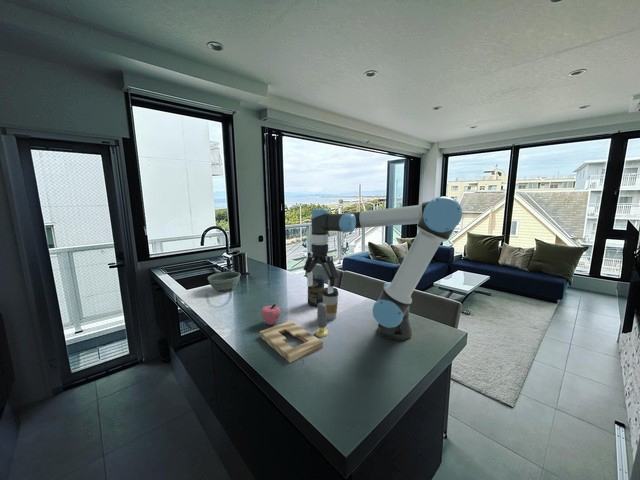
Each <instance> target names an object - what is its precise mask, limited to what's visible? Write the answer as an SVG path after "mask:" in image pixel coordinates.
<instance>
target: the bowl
mask: <svg viewBox="0 0 640 480" xmlns="http://www.w3.org/2000/svg"><path fill="white" fill-rule="evenodd" d="M240 278H241V273H240V272H237V271H224V272H218V273H213V274H211V275H209V276H208V277H207V280H208V283H209V285H210V286H211V288H213V289H215V290H217V291H218V292H221V293H222V292H223V293H225V292H229V291H232V290H233V288H235V287H236V286H238V283H239V281H240Z"/></svg>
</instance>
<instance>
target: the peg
mask: <svg viewBox="0 0 640 480" xmlns="http://www.w3.org/2000/svg"><path fill="white" fill-rule="evenodd" d="M316 307H317V310H316V311H317V314H316V315H317V316H316V317H317V319H316V323H317V327H318V328H317V329H315V331H314V334H315V335H314V336H315V337H319V338H325V337H328V335H329V330H328V329H327V328H326V327H327V319H326V303H318V304H317V306H316Z"/></svg>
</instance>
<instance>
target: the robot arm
mask: <svg viewBox="0 0 640 480" xmlns="http://www.w3.org/2000/svg"><path fill="white" fill-rule="evenodd" d="M462 217H463V208H462V206H461V205H460V203H459V202H458V201H457V200H456V199H455V198H452V197H451V196H450V197H449V196H446V195H445V196H438V197H434V198H433V199H431V200H430V201H429V200H428V201H421V202H420V204H417V205H409V206H399V207H393V208H392V207H391V208H383V209H382V208H381V209H373V210H372V209H371V210H365V211H363V210H362V211H352V212H346V213H330V212H329V209H327V208H313V209H312V210H311V217H310V220H311V221H310V222H311V241H310V242H311V248H310V249H311V251H310V252H307V258H306V260H305V263H304V265H303V271H305V272H306V279H307V282H306V283H307V285H306V286H307V288H308V287H309V286H312V285H313V275H314V274H313V270H314V269H315V266H317V265H319V266H322V268H323V269H324V272H325V273H326V275H327V277H328V278H327V287H328V294H330V293H333V288H334V286H335V280H336V279H338V278H339V275H338V271H337V268H336V266H335V263H334V257H333V255H328V252H329V244H328V243H329V232H343V233H353V232H354V230H355V229H363V228H365V229H366V228H377V227H390V226H402V225H403V226H405V225H416V224H417V225H416V227H417V231H418V232H417V234H416V235H415V238H414V240H413V242H412V243H411V245H410V247H409V249H408V251H407V252H406V254H405V257H404V259H403V260H402V262H401V263H400V266H399V267H398V269H397V271H396V273H395V275H394V276H393V279H392V280H391V281H389V282H388V281H387V282H385V283H384V284H383V287H382V291H381V293H380V295H379V297H378V299H377V300H376V301H375V302H374V304H373V307H372V316H373V318H374V319H375V321H376V322H377V323H378V325H377V332H378V334H379V335H380V336H382V337H384V338H386V339H388V340H392V341H406V340H409V339H411V337H412V335H413V328H412V326H411V321H410V318H409V317H410V306H411V304H412V303H413V298H412V294H413V293H414V290H415V289H416V287H417V286H418V284H419V282H420V280H421V278H422V277H423V275H424V273H425V271H426V270H427V268H428V266H429V265H430V263H431V261H432V259H433V257H434V256H435V254H436V252H437V251H438V249H439V247H440V246H441V244H442V243H444V242H447V241H448V240H449V239H450V237H451V235H452V234H453V232H454V231H455V229H456V228H457V227H458V225H459V224H460V223H461V220H462Z"/></svg>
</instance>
